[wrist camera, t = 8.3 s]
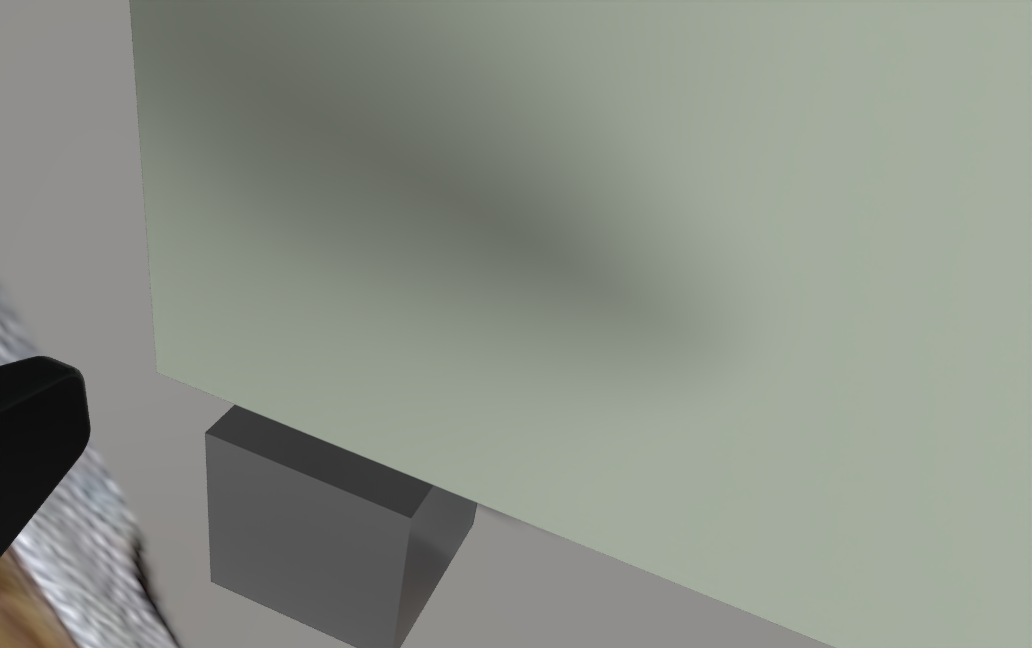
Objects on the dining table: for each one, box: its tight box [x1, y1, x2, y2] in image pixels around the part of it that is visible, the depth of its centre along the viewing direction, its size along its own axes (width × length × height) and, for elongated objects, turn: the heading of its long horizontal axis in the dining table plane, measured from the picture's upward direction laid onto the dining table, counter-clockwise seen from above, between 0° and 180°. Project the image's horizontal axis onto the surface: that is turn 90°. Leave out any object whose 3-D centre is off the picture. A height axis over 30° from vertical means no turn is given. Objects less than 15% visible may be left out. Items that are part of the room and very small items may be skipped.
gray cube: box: [205, 405, 477, 648], centre depth 23 cm, size 5×5×5 cm
